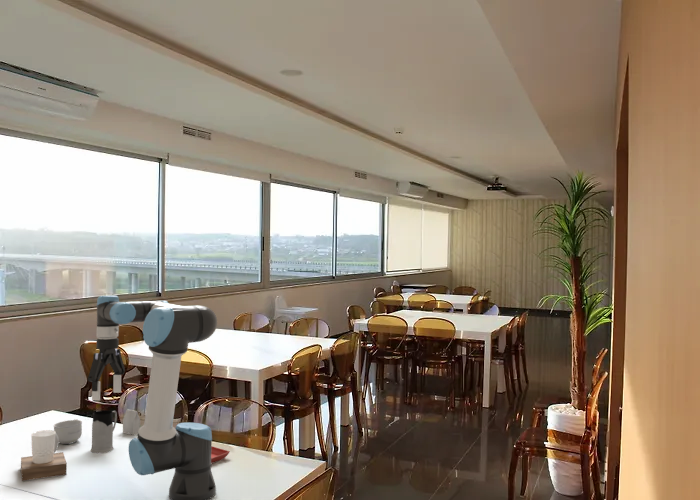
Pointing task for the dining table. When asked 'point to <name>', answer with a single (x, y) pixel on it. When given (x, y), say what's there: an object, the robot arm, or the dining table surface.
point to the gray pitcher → (103, 431)
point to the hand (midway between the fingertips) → (106, 396)
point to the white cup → (43, 446)
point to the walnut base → (43, 467)
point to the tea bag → (131, 422)
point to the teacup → (68, 431)
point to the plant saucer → (218, 454)
